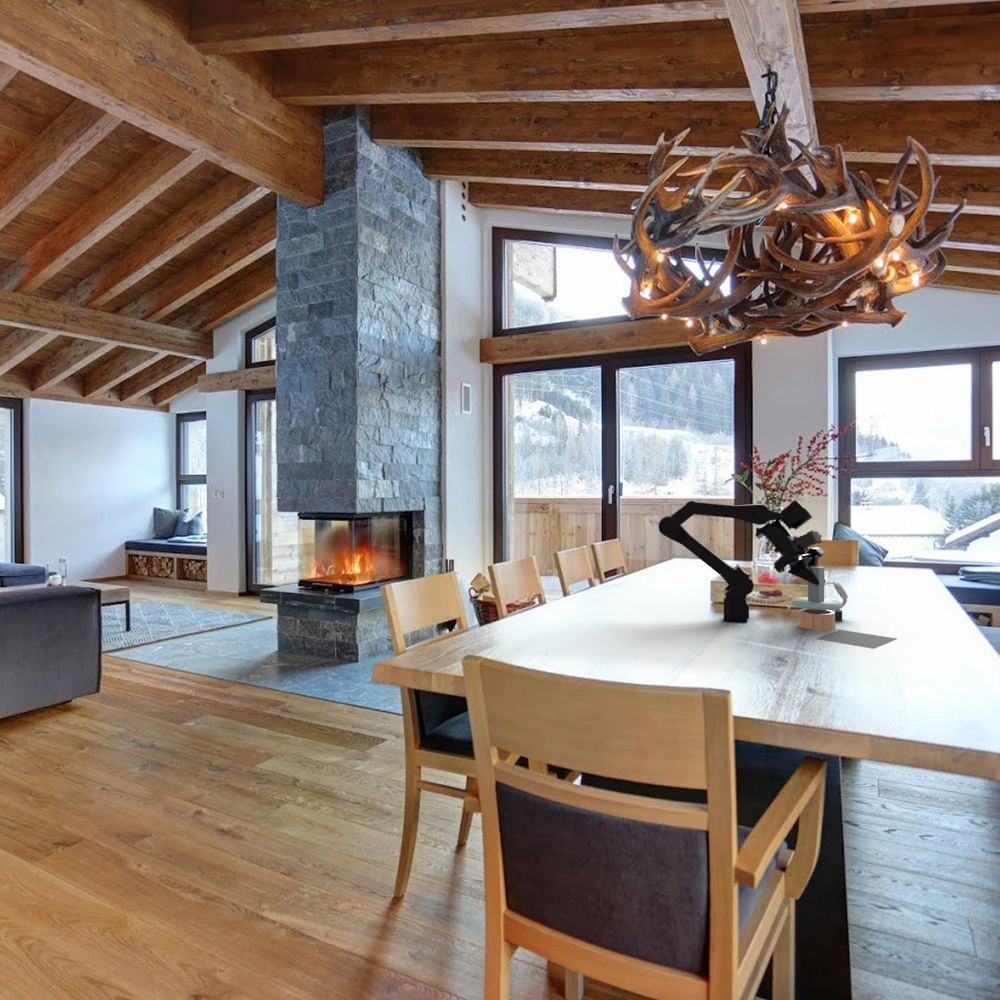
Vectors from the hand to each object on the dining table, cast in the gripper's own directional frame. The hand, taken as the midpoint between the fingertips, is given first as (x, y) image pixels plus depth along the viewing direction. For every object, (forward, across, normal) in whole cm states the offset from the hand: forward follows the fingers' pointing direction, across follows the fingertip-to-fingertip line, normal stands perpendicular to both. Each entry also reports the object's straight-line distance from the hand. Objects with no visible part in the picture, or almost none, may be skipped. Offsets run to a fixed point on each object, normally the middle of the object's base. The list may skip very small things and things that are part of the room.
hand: (821, 583), depth 182 cm
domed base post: (+3, 0, +5) cm, 6 cm away
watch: (+7, +13, +11) cm, 18 cm away
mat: (+17, -6, 0) cm, 18 cm away
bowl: (+8, 0, +10) cm, 12 cm away
